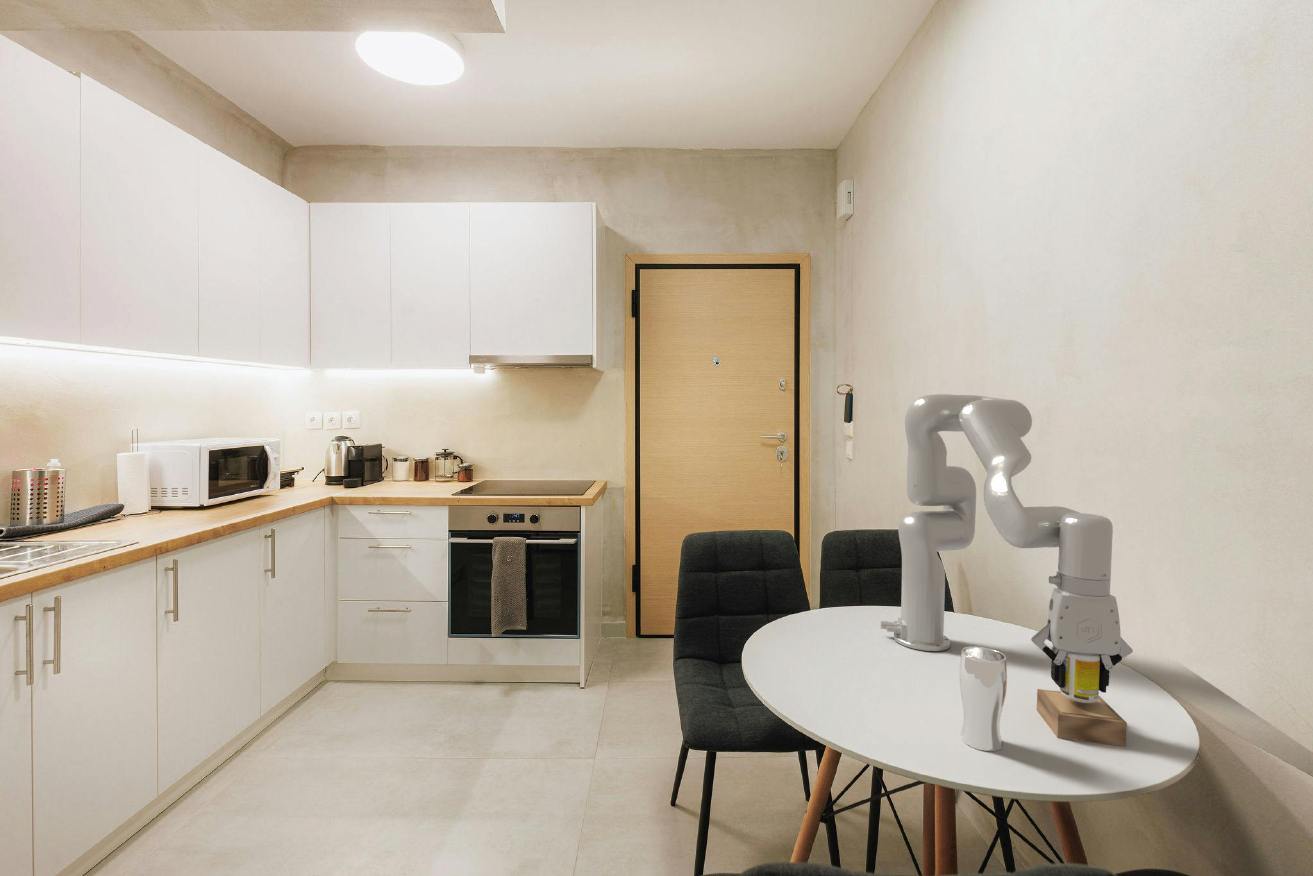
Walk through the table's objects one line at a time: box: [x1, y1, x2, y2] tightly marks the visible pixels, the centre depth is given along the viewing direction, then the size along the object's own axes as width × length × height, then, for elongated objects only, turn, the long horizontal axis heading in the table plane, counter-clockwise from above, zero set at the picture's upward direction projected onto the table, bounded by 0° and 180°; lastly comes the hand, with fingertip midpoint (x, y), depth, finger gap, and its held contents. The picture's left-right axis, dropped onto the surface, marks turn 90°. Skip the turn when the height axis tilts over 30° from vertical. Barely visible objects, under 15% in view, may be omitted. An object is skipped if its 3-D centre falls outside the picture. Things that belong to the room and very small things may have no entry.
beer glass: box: [959, 645, 1008, 752], centre depth 101 cm, size 7×7×15 cm
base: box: [1036, 688, 1128, 747], centre depth 106 cm, size 10×10×4 cm
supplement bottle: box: [1059, 652, 1100, 703], centre depth 106 cm, size 6×6×10 cm
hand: (1079, 685), depth 106 cm, fingers closed on supplement bottle, 5 cm apart
